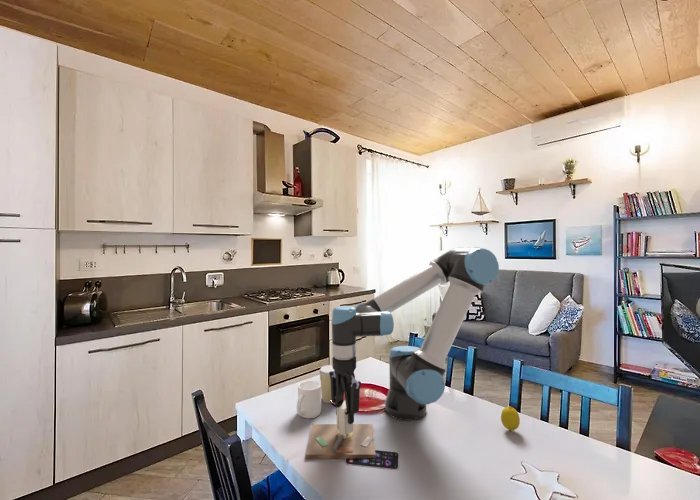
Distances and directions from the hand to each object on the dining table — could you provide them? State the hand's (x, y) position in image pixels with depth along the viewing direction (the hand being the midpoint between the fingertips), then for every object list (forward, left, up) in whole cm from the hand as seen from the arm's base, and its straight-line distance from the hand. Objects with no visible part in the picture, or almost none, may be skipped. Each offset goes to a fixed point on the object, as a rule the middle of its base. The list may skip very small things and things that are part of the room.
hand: (345, 429), depth 104 cm
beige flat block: (+1, +3, -1) cm, 4 cm away
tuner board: (+1, +2, -3) cm, 4 cm away
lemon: (-54, -4, -3) cm, 54 cm away
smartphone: (-8, +10, -3) cm, 13 cm away
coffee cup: (+6, -27, -3) cm, 28 cm away
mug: (+14, -14, -3) cm, 20 cm away
